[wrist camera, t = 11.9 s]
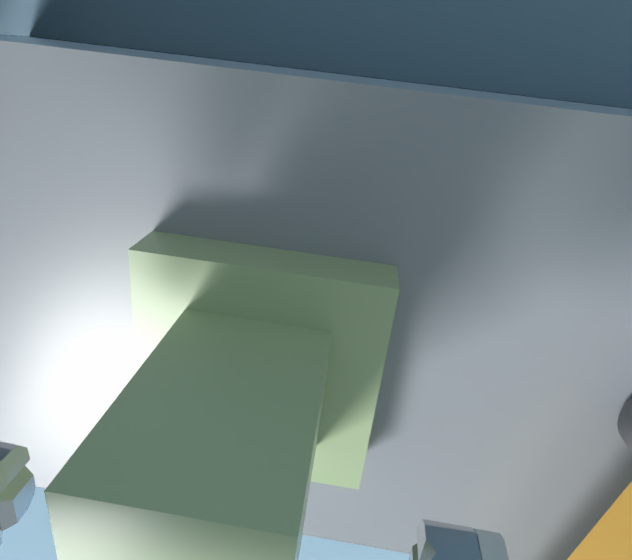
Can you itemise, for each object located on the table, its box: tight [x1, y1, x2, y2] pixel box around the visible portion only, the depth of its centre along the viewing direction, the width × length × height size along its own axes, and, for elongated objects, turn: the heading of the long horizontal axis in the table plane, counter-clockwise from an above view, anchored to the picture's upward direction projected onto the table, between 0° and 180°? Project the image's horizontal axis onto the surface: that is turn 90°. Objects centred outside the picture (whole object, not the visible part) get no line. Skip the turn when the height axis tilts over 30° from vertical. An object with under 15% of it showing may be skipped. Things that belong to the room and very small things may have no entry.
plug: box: [44, 231, 400, 560], centre depth 13 cm, size 7×7×11 cm
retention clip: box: [567, 398, 632, 560], centre depth 14 cm, size 11×3×3 cm, turn 164°
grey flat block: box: [0, 35, 632, 560], centre depth 17 cm, size 24×16×5 cm, turn 84°
